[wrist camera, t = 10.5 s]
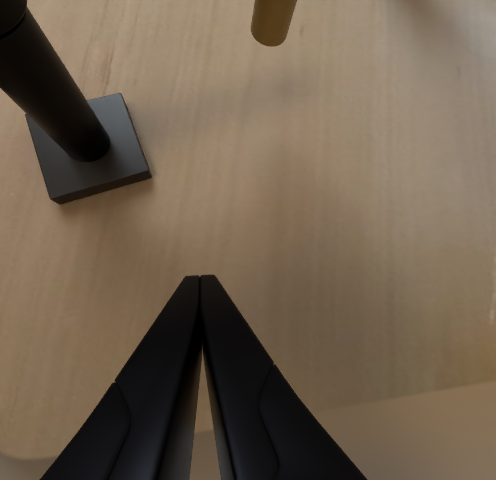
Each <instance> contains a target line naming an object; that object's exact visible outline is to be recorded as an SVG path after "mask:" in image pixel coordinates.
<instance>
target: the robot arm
mask: <svg viewBox="0 0 496 480" xmlns="http://www.w3.org/2000/svg"><path fill="white" fill-rule="evenodd" d="M202 346H203V357H204V365H205V371H206V378H207V385H208V392H209V399H210V406H211V413H212V420H213V426H214V433H215V440H216V447H217V454H218V461H219V468H220V475H221V480H367V479H366V477H365V476H364V475H363V474H362V473H361V472H360V470H359V469H358V468H357V467H356V466H355V464H354V463H353V462H352V461H351V460H350V459H349V457H348V456H347V455H346V454H345V453H344V452H343V450H342V449H341V448H340V447H339V446H338V444H337V443H336V442H335V441H334V440H333V439H332V438H331V436H330V435H329V434H328V433H327V432H326V430H325V429H324V428H323V427H322V426H321V424H320V423H319V422H318V421H317V420H316V419H315V417H314V416H313V415H312V414H311V412H310V411H309V410H308V409H307V407H306V406H305V405H304V404H303V402H302V401H301V400H300V399H299V397H298V396H297V395H296V393H295V392H294V390H293V389H292V388H291V386H290V385H289V383H288V382H287V381H286V379H285V378H284V376H283V375H282V373H281V372H280V371H279V369H278V368H277V366H276V365H273V364H274V362H273V360H272V359H271V357H270V356H269V354H268V353H267V352H266V350H265V349H264V347H263V346H262V344H261V343H260V341H259V340H258V338H257V337H256V335H255V334H254V332H253V331H252V329H251V328H250V326H249V325H248V323H247V322H246V320H245V319H244V317H243V316H242V314H241V313H240V311H239V310H238V309H237V307H236V306H235V304H234V303H233V301H232V300H231V298H230V297H229V295H228V294H227V292H226V291H225V289H224V288H223V286H222V285H221V283H220V282H219V280H218V279H217V277H216V276H215V275H202V276H201V277H199V276H198V275H196V276H186V277H184V279H183V280H182V282H181V283H180V285H179V286H178V288H177V289H176V291H175V292H174V293H173V295H172V296H171V298H170V299H169V301H168V302H167V304H166V305H165V307H164V308H163V310H162V311H161V313H160V314H159V316H158V317H157V318H156V320H155V321H154V323H153V324H152V326H151V327H150V329H149V330H148V332H147V333H146V335H145V336H144V338H143V339H142V341H141V342H140V343H139V345H138V346H137V348H136V349H135V351H134V352H133V354H132V355H131V357H130V358H129V360H128V361H127V363H126V364H125V366H124V367H123V368H122V370H121V371H120V373H119V374H118V376H117V377H116V379H115V382H116V383H112V384H111V386H110V387H109V389H108V390H107V392H106V393H105V395H104V396H103V398H102V399H101V401H100V402H99V403H98V405H97V406H96V408H95V409H94V410H93V412H92V413H91V415H90V416H89V417H88V419H87V420H86V422H85V423H84V424H83V426H82V427H81V428H80V430H79V431H78V432H77V434H76V435H75V436H74V437H73V439H72V440H71V441H70V442H69V444H68V445H67V446H66V448H65V449H64V450H63V451H62V453H61V454H60V455H59V456H58V458H57V459H56V460H55V462H54V463H53V464H52V465H51V467H50V468H49V469H48V470H47V471H46V473H45V474H44V475H43V477H42V478H41V479H40V480H189V477H190V476H189V475H190V467H191V458H192V448H193V438H194V429H195V420H196V410H197V400H198V391H199V381H200V372H201V362H202Z"/></svg>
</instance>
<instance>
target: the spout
mask: <svg viewBox="0 0 496 480" xmlns="http://www.w3.org/2000/svg"><path fill="white" fill-rule="evenodd" d="M296 2H297V0H255V3H254V10H253V16H252V23H251V32H252V35H253V37H254V38H255V39H256V40H257V41H258V42H259V43H261V44H263V45H265V46H278V45H280V44H282V43H283V42H284V40H285V39H286V36H287V33H288V29H289V26H290V22H291V19H292V16H293V12H294V9H295V6H296ZM26 7H27V0H0V35H2V34H4V33H6V32H8V31H9V30H11V29H12V28H14V27H15V26H16V25H17V24H18V23H19V22H20V20H21V19H22V17H23V16H24V13H25V11H26Z"/></svg>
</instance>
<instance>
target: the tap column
mask: <svg viewBox="0 0 496 480" xmlns="http://www.w3.org/2000/svg"><path fill="white" fill-rule="evenodd" d="M0 88H1V89H2V90H3V91H4V92H5V93H6V94H7V95H8V96H9V97H10V98H11V99H12V100H13V101H14V102H15V103H16V104H17V105H18V106H19V107H20V108H21V109H22V110H23V111H24V112H25V113H26V114H25V116H26V120H27V123H28V127H29V130H30V133H31V137H32V140H33V143H34V147H35V150H36V154H37V157H38V160H39V164H40V167H41V170H42V174H43V177H44V181H45V184H46V187H47V191H48V194H49V197H50V199H51V200H53V201H54V202H56V203H58V204H62V203H65V202H69V201H72V200H76V199H79V198H82V197H86V196H89V195H93V194H96V193H99V192H103V191H106V190H110V189H113V188H117V187H120V186H123V185H127V184H130V183H134V182H137V181H140V180H144V179H147V178H151V177H152V176H151V173H150V170H149V167H148V164H147V162H146V159H145V156H144V153H143V151H142V148H141V145H140V142H139V139H138V137H137V134H136V131H135V128H134V126H133V123H132V120H131V117H130V114H129V112H128V109H127V106H126V103H125V101H124V99H123V96H122V94H121V93H117V94H113V95H108V96H104V97H100V98H95V99H91V100H86V99H85V97H84V96H83V94H82V92H81V91H80V89H79V88H78V86H77V85H76V83H75V81H74V80H73V78H72V77H71V75H70V74H69V72H68V70H67V69H66V67H65V66H64V64H63V63H62V61H61V59H60V58H59V56H58V55H57V53H56V52H55V50H54V48H53V47H52V45H51V44H50V42H49V41H48V39H47V37H46V36H45V34H44V33H43V31H42V30H41V28H40V26H39V25H38V23H37V22H36V20H35V18H34V17H33V15H32V14H31V12H30V11H29V9H28V7H26V11H25V13H24V16H23V17H22V19H21V20H20V22H19V23H18V24H17V25H16V26H15V27H14V28H12V29H11V30H9V31H8V32H6V33H4V34H2V35H0Z"/></svg>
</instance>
